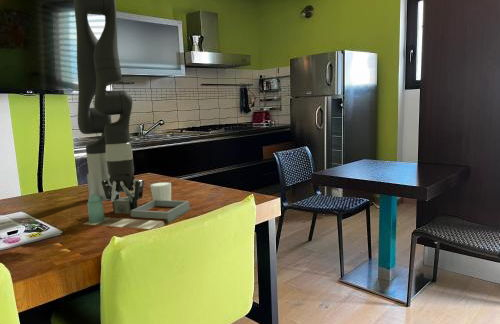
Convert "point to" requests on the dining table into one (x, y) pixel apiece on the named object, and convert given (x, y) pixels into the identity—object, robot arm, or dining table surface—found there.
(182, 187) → the dining table surface
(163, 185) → the shot glass
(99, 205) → the pawn
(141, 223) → the track
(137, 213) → the tray
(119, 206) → the dice cube
